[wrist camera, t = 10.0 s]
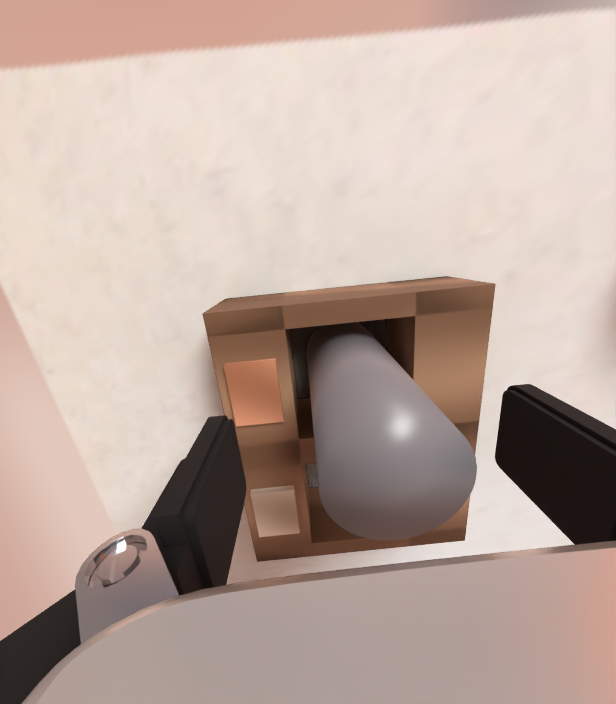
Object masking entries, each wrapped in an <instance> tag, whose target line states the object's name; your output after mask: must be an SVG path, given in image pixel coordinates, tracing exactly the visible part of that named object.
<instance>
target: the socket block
mask: <svg viewBox="0 0 616 704" xmlns="http://www.w3.org/2000/svg"><path fill="white" fill-rule="evenodd" d="M494 291H495V284H493V283H486V282H480V281H473V280H467V279H461V278H454V277H448V276H446V277H436V278H426V279H416V280H406V281H396V282H386V283H376V284H367V285H357V286H347V287H337V288H327V289H317V290H307V291H298V292H288V293H278V294H268V295H258V296H248V297H238V298H228V299H225V300H223V301H222V302H220V303H218V304H217V305H215V306H214V307H212V308H211V309H209V310H207V311H206V312H204V313H203V318H204V323H205V327H206V332H207V336H208V341H209V345H210V350H211V354H212V359H213V363H214V368H215V372H216V377H217V382H218V386H219V391H220V395H221V400H222V404H223V409H224V413H225V415H226V416H227V417H228V419H233V421H234V425H235V430H236V435H237V440H238V445H239V449H240V454H241V459H242V464H243V469H244V474H245V479H246V496H245V501H244V504H245V508H246V513H247V517H248V522H249V527H250V531H251V536H252V540H253V545H254V549H255V554H256V558H257V562H259V561H268V560H278V559H288V558H298V557H307V556H317V555H327V554H337V553H347V552H356V551H366V550H376V549H386V548H395V547H405V546H415V545H425V544H434V543H444V542H454V541H464V540H465V534H466V525H467V517H468V509H469V500H470V495H469V497H468V499H467V500H466V502H465V503H464V505H463V506H462V507H461V508H460V509H459V511H458V512H457V513H456V514H455V515H453V516H452V517H451V518H450V519H449V520H447V521H446V522H445V523H443V524H442V525H440V526H438V527H437V528H435V529H433V530H431V531H429V532H426V533H424V534H421V535H418V536H415V537H411V538H407V539H401V540H389V541H386V540H374V539H368V538H364V537H360V536H357V535H355V534H352V533H350V532H348V531H346V530H345V529H343V528H342V527H340V526H339V525H338V524H337V523H335V522H334V521H333V520H332V519H331V517H330V516H329V515H328V514H327V512H326V510H325V509H324V507H323V504H322V502H321V499H320V494H319V487H315V488H309V482H308V474H307V466H306V464H311V463H316V453H315V441H314V430H313V419H312V408H311V398H305V399H298V391H297V382H296V374H295V366H294V357H293V349H292V341H291V332H290V329H293V328H302V327H312V326H322V325H332V324H342V323H352V322H361V321H371V320H381V319H387V352H388V353H389V354H390V355H391V356H392V357H393V358H394V360H395V361H396V362H397V363H398V364H399V365H400V366H401V367H402V368H403V369H404V370H405V372H406V373H407V374H408V375H409V376H410V377H411V378H412V379H413V380H414V381H415V383H416V384H417V385H418V386H419V387H420V388H421V389H422V390H423V391H424V392H425V394H426V395H427V396H428V397H429V398H430V399H431V400H432V401H433V402H434V403H435V404H436V406H437V407H438V408H439V409H440V410H441V411H442V412H443V413H444V414H445V415H446V417H447V418H448V419H449V420H450V421H451V422H452V423H453V424H454V425H455V426H456V428H457V429H458V430H459V431H460V432H461V433H462V434H463V435H464V436H465V438H466V439H467V440H468V442H469V443H470V445H471V447H472V449H473V451H474V455H475V450H476V442H477V433H478V425H479V417H480V408H481V400H482V392H483V383H484V375H485V367H486V358H487V350H488V342H489V333H490V325H491V317H492V308H493V300H494Z"/></svg>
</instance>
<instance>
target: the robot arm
mask: <svg viewBox="0 0 616 704" xmlns="http://www.w3.org/2000/svg"><path fill="white" fill-rule="evenodd" d="M495 459H496V462H497V464H498V466H499V467H500V468H501V469H502V470H503V471H504V473H505V474H506V475H507V476H508V477H509V478H510V479H511V480H512V481H513V482H514V483H515V484H516V485H517V486H518V487H519V488H520V489H521V490H522V491H523V492H524V493H525V494H526V495H527V496H528V497H529V498H530V499H531V500H532V501H533V502H534V503H535V504H536V505H537V506H538V507H539V508H540V509H541V510H542V511H543V512H544V514H545V515H546V516H547V517H548V518H549V519H550V520H551V521H552V522H553V523H554V524H555V525H556V526H557V527H558V528H559V529H560V530H561V531H562V532H563V533H564V534H565V535H566V536H567V537H568V538H569V539H570V540H571V541H572V542H573V543H574V544H575V545H568V546H558V547H548V548H538V549H529V550H519V551H510V552H500V553H491V554H481V555H472V556H462V557H453V558H444V559H434V560H425V561H416V562H407V563H398V564H389V565H380V566H371V567H363V568H354V569H345V570H336V571H327V572H318V573H309V574H301V575H294V576H286V577H279V578H271V579H264V580H256V581H248V582H241V583H235V584H229V585H226V583H227V578H228V574H229V569H230V564H231V560H232V555H233V551H234V546H235V542H236V537H237V532H238V528H239V523H240V519H241V514H242V510H243V505H244V501H245V496H246V479H245V474H244V469H243V464H242V459H241V454H240V449H239V445H238V440H237V435H236V430H235V425H234V421H233V419H228V417H227V416H226V415H225V416H215V417H209V418H208V419H207V421H206V423H205V425H204V426H203V428H202V430H201V432H200V434H199V435H198V437H197V439H196V441H195V442H194V444H193V446H192V448H191V450H190V451H189V453H188V455H187V457H186V458H185V459H183V460H182V461H181V462H180V463H179V465H178V466H177V468H176V470H175V472H174V473H173V475H172V477H171V478H170V480H169V482H168V484H167V485H166V487H165V489H164V491H163V492H162V494H161V496H160V497H159V499H158V501H157V503H156V504H155V506H154V508H153V510H152V511H151V513H150V515H149V516H148V518H147V520H146V522H145V523H144V525H143V527H142V528H141V529H132V530H129V531H125V532H122V533H120V534H118V535H116V536H114V537H112V538H110V539H109V540H107V541H106V542H104V543H103V544H101V545H100V546H99V547H98V548H97V549H96V550H95V551H94V552H92V553H91V554H90V555H89V557H88V558H87V559H86V561H85V562H84V563H83V565H82V566H81V568H80V570H79V572H78V574H77V576H76V583H75V590H74V591H72V592H71V593H69V594H68V595H67V596H65V597H63V598H62V599H60V600H59V601H58V602H56V603H55V604H53V605H52V606H50V607H49V608H48V609H46V610H45V611H43V612H42V613H40V614H39V615H37V616H36V617H35V618H33V619H32V620H30V621H29V622H27V623H26V624H24V625H23V626H22V627H20V628H19V629H17V630H16V631H14V632H13V633H11V634H10V635H8V636H7V637H6V638H4V639H3V640H1V641H0V704H616V429H614V428H612V427H610V426H608V425H606V424H604V423H603V422H601V421H599V420H597V419H595V418H593V417H591V416H589V415H587V414H586V413H584V412H582V411H580V410H578V409H576V408H574V407H572V406H571V405H569V404H567V403H565V402H563V401H561V400H559V399H557V398H556V397H554V396H552V395H550V394H548V393H546V392H544V391H542V390H540V389H539V388H537V387H535V386H533V385H530V384H524V385H514V386H510V387H508V389H507V391H505V392H504V393H503V398H502V406H501V413H500V421H499V429H498V437H497V445H496V452H495Z"/></svg>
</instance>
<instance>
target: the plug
mask: <svg viewBox="0 0 616 704" xmlns="http://www.w3.org/2000/svg"><path fill="white" fill-rule="evenodd" d="M307 363H308V374H309V386H310V397H311V408H312V419H313V430H314V441H315V453H316V464H317V475H318V486H319V494H320V499H321V502H322V504H323V507H324V509H325V510H326V512H327V514H328V515H329V516H330V517H331V519H332V520H333V521H334V522H335V523H337V524H338V525H339V526H340V527H342V528H343V529H345V530H346V531H348V532H350V533H352V534H355V535H357V536H360V537H364V538H368V539H374V540H386V541H389V540H401V539H407V538H411V537H415V536H418V535H421V534H424V533H426V532H429V531H431V530H433V529H435V528H437V527H438V526H440V525H442V524H443V523H445V522H446V521H447V520H449V519H450V518H451V517H452V516H453V515H455V514H456V513H457V512H458V511H459V509H460V508H461V507H462V506H463V505H464V503H465V502H466V500H467V499H468V497H469V495H470V493H471V492H472V489H473V486H474V484H475V479H476V471H477V465H476V458H475V455H474V451H473V449H472V447H471V445H470V443H469V442H468V440H467V439H466V438H465V436H464V435H463V434H462V433H461V432H460V431H459V430H458V429H457V428H456V426H455V425H454V424H453V423H452V422H451V421H450V420H449V419H448V418H447V417H446V415H445V414H444V413H443V412H442V411H441V410H440V409H439V408H438V407H437V406H436V404H435V403H434V402H433V401H432V400H431V399H430V398H429V397H428V396H427V395H426V394H425V392H424V391H423V390H422V389H421V388H420V387H419V386H418V385H417V384H416V383H415V381H414V380H413V379H412V378H411V377H410V376H409V375H408V374H407V373H406V372H405V370H404V369H403V368H402V367H401V366H400V365H399V364H398V363H397V362H396V361H395V360H394V358H393V357H392V356H391V355H390V354H389V353H388V352H387V351H386V350H385V349H384V347H383V346H382V345H381V344H380V343H379V342H378V341H377V340H376V339H375V338H374V336H373V335H372V334H371V333H370V332H369V331H368V330H367V329H366V328H365V327H364V326H363V325H361V324H360V323H358V322H352V323H342V324H332V325H322V326H320V327H319V328H318V329H317V330H316V331H315V332H314V333H313V335H312V336H311V338H310V340H309V343H308V346H307Z"/></svg>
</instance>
